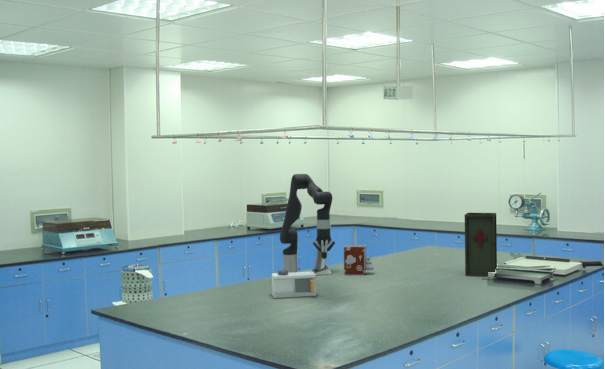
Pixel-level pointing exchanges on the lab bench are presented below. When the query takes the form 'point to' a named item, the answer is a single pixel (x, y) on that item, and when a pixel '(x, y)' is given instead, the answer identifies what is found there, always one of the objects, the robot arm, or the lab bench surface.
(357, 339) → the lab bench surface
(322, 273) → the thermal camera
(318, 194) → the robot arm
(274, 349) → the lab bench surface
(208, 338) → the lab bench surface
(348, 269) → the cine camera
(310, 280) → the side door
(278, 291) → the camera housing
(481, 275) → the first aid box
